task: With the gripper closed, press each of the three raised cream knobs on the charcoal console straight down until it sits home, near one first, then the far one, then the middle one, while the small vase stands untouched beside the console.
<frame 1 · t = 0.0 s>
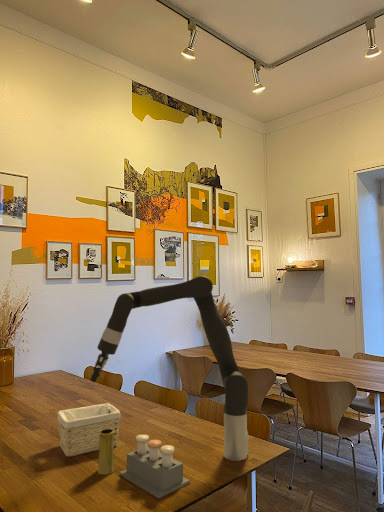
hand: (94, 378, 150), 31 cm above the table, tool tilted 20°, fingers open, 8 cm apart
console: (153, 478, 134), on the table
knob mid: (154, 453, 135), point 8 cm above the table, slide at 0.0 cm
knob near: (167, 460, 130), point 8 cm above the table, slide at 0.0 cm
vase: (105, 471, 140), on the table
storage basket: (88, 446, 162), on the table
knob far: (142, 448, 140), point 8 cm above the table, slide at 0.0 cm
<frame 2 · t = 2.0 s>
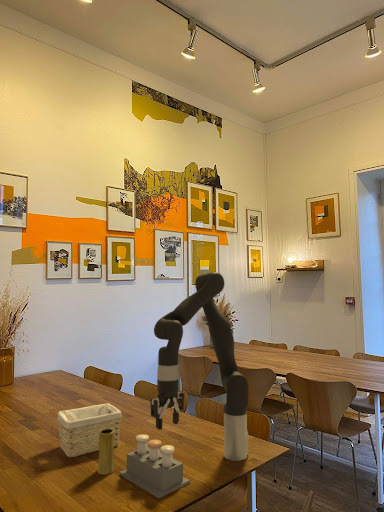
hand: (167, 426, 131), 20 cm above the table, tool pointing down, fingers open, 7 cm apart
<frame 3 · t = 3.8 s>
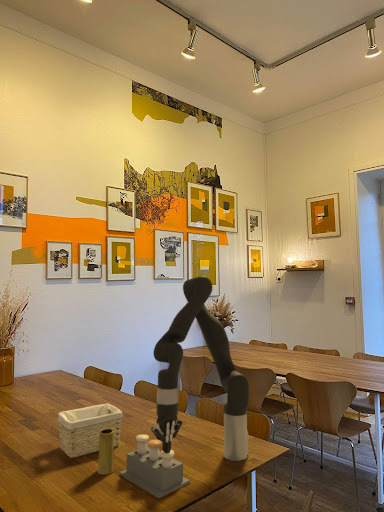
hand: (166, 452, 130), 11 cm above the table, tool pointing down, fingers closed
knob near: (167, 464, 130), point 7 cm above the table, slide at 1.4 cm, touching gripper
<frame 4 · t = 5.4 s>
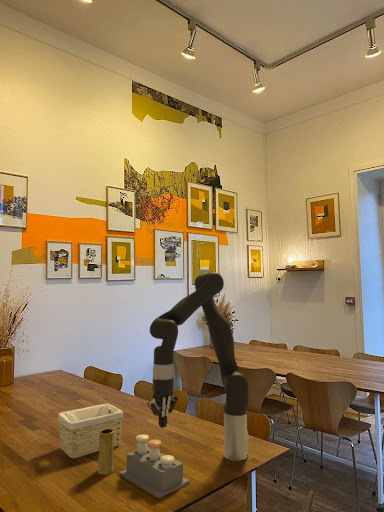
hand: (162, 426, 132), 19 cm above the table, tool pointing down, fingers closed
knob near: (167, 470, 129), point 5 cm above the table, slide at 3.3 cm
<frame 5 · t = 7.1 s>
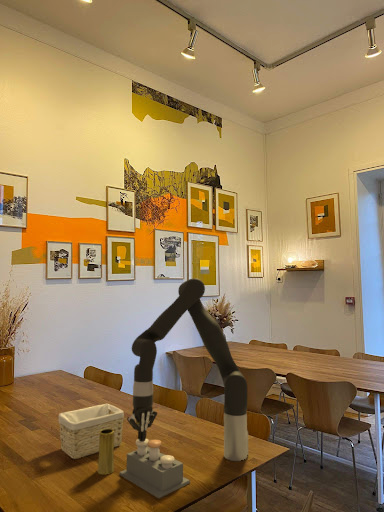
hand: (142, 440, 140), 11 cm above the table, tool pointing down, fingers closed
knob far: (142, 452, 140), point 7 cm above the table, slide at 1.4 cm, touching gripper
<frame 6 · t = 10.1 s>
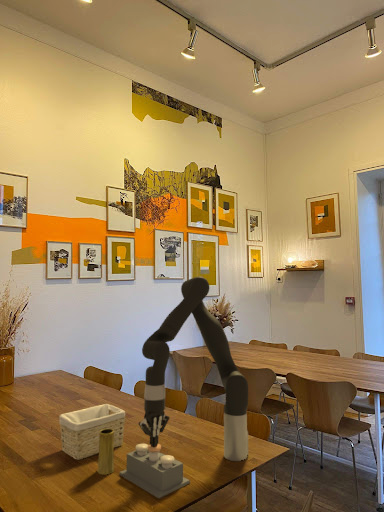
hand: (153, 446, 135), 11 cm above the table, tool pointing down, fingers closed
knob mid: (154, 458, 135), point 7 cm above the table, slide at 1.4 cm, touching gripper
knob far: (142, 457, 139), point 5 cm above the table, slide at 3.3 cm
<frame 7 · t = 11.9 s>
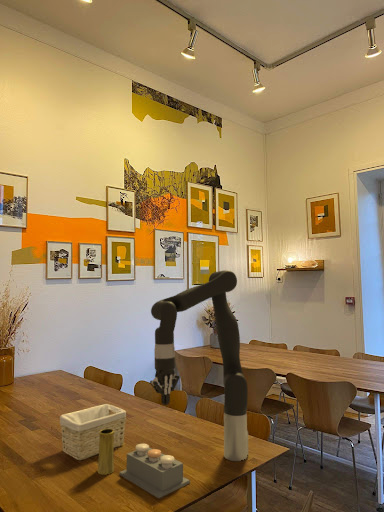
hand: (165, 404, 137), 25 cm above the table, tool pointing down, fingers closed
knob mid: (154, 463, 134), point 5 cm above the table, slide at 3.3 cm
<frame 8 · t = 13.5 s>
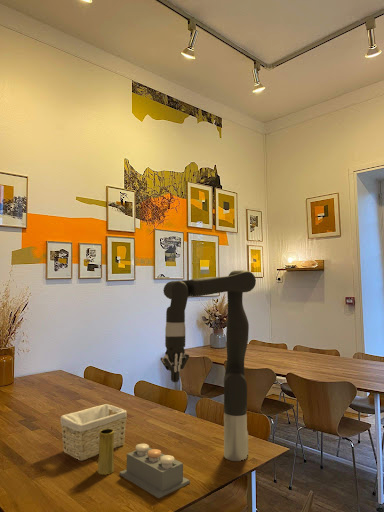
hand: (175, 381, 140), 33 cm above the table, tool pointing down, fingers closed
at the end: knob near slide at 3.3 cm; knob far slide at 3.3 cm; knob mid slide at 3.3 cm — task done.
